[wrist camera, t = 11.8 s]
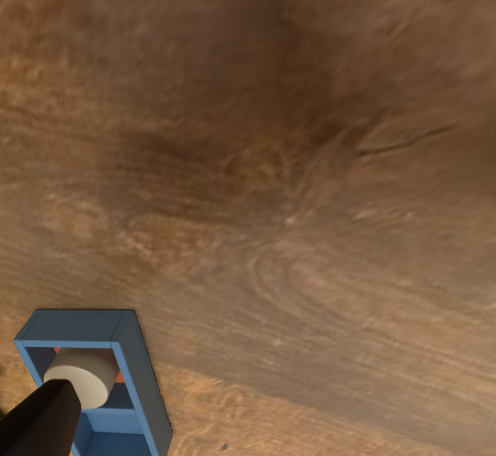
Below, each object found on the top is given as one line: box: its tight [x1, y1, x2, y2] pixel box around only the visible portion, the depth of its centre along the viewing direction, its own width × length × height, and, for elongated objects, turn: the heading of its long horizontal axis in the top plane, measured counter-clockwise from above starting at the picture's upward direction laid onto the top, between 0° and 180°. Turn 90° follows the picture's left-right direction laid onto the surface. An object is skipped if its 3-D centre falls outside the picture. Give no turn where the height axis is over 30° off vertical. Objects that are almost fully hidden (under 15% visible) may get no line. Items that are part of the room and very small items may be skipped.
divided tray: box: [13, 310, 173, 456], centre depth 27 cm, size 6×12×2 cm, turn 6°
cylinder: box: [44, 347, 120, 409], centre depth 25 cm, size 4×4×2 cm
